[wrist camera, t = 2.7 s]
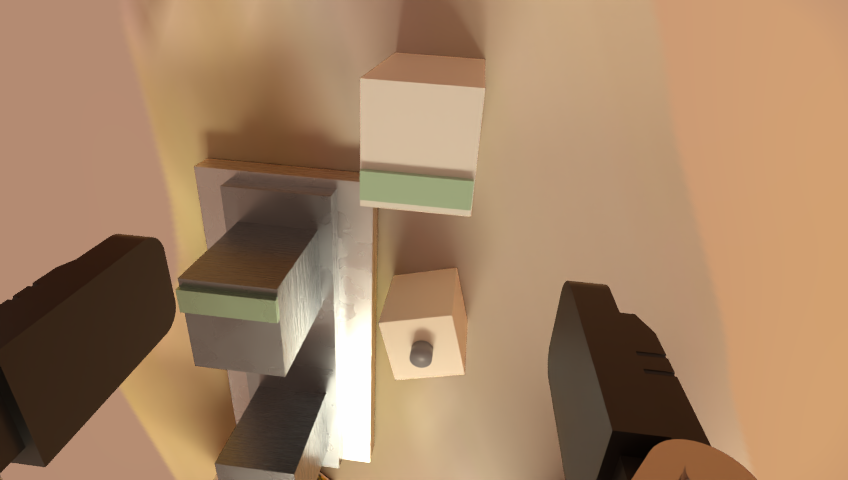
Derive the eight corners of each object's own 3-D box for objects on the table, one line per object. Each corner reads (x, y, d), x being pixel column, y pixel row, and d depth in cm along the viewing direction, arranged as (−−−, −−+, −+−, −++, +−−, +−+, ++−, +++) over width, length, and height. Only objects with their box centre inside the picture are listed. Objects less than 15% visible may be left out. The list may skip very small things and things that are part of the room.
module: (485, 59, 25) (485, 89, 17) (474, 156, 27) (470, 219, 20) (395, 52, 25) (358, 79, 18) (392, 148, 27) (358, 208, 20)
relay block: (456, 267, 30) (451, 324, 25) (467, 320, 32) (464, 384, 27) (393, 275, 31) (375, 332, 26) (407, 326, 33) (392, 390, 27)
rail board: (378, 174, 28) (335, 248, 20) (373, 445, 38) (344, 567, 30) (207, 158, 29) (100, 224, 21) (247, 429, 39) (186, 544, 31)
